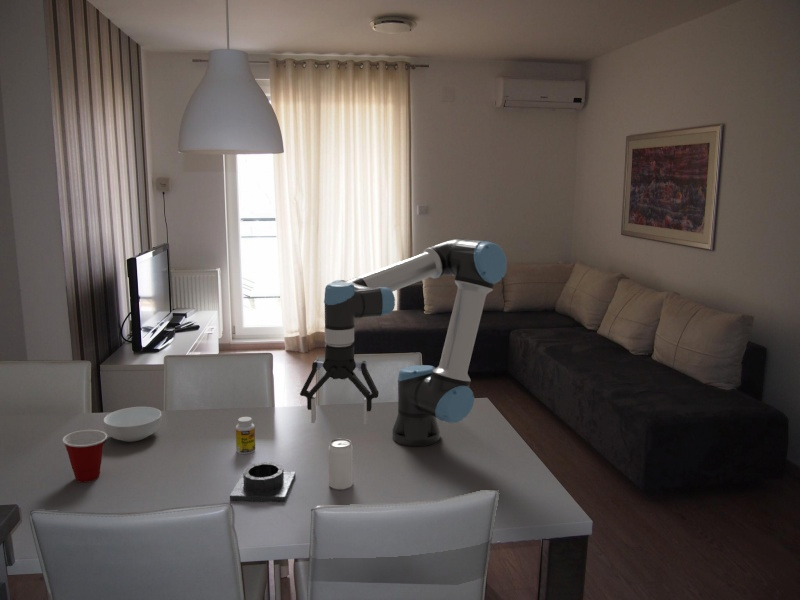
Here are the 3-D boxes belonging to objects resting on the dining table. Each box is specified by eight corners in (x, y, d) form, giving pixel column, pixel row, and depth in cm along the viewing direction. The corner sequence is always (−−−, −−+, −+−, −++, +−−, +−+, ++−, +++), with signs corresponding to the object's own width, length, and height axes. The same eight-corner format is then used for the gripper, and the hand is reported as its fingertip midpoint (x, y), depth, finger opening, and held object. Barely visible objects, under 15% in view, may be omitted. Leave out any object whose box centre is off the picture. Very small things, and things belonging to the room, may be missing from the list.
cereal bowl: (92, 442, 195) (90, 420, 193) (133, 423, 210) (132, 403, 209) (135, 451, 188) (133, 429, 187) (174, 431, 204) (172, 410, 202)
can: (329, 479, 172) (328, 438, 169) (352, 478, 172) (352, 437, 170) (328, 491, 165) (327, 448, 163) (353, 490, 166) (352, 447, 164)
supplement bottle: (240, 456, 185) (238, 423, 184) (233, 449, 190) (232, 417, 188) (258, 452, 188) (257, 419, 187) (251, 445, 193) (250, 414, 191)
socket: (295, 476, 173) (295, 459, 172) (284, 502, 159) (284, 483, 158) (244, 475, 173) (244, 458, 173) (230, 501, 160) (229, 482, 159)
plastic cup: (103, 485, 167) (99, 443, 165) (59, 488, 166) (55, 445, 163) (115, 467, 178) (112, 427, 175) (75, 469, 176) (71, 429, 174)
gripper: (388, 340, 165) (387, 418, 169) (293, 338, 166) (294, 415, 169) (387, 348, 158) (386, 428, 161) (288, 345, 158) (289, 426, 162)
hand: (339, 422), depth 165 cm, fingers open, 13 cm apart
